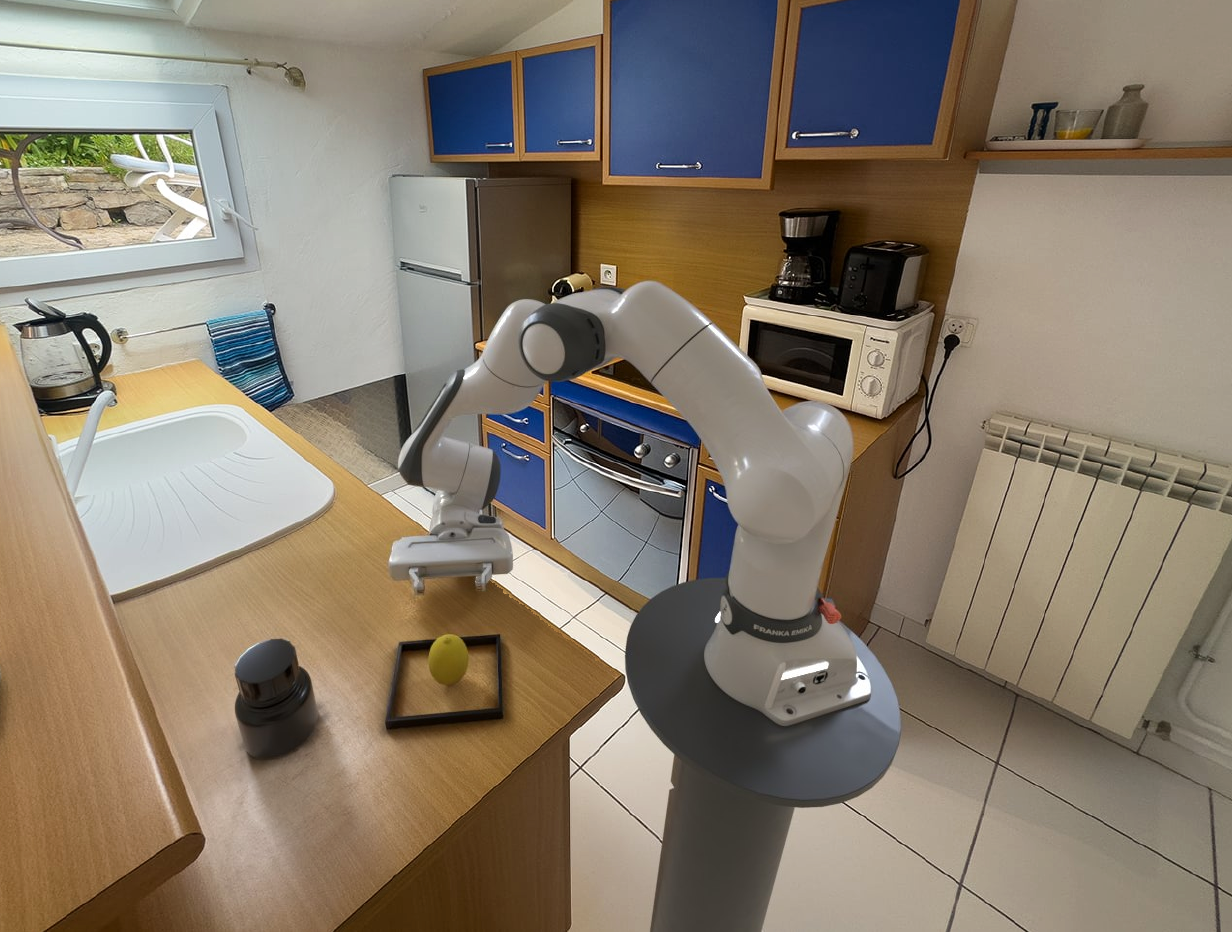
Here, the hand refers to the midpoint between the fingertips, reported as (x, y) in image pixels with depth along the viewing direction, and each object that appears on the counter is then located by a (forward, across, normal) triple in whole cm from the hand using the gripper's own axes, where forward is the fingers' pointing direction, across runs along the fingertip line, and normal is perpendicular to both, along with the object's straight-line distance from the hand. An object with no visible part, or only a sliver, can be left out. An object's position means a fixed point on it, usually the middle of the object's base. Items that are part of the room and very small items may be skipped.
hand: (449, 590), depth 89 cm
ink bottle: (+16, -21, +7) cm, 27 cm away
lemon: (+11, 0, +7) cm, 13 cm away
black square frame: (+11, 0, +7) cm, 13 cm away
